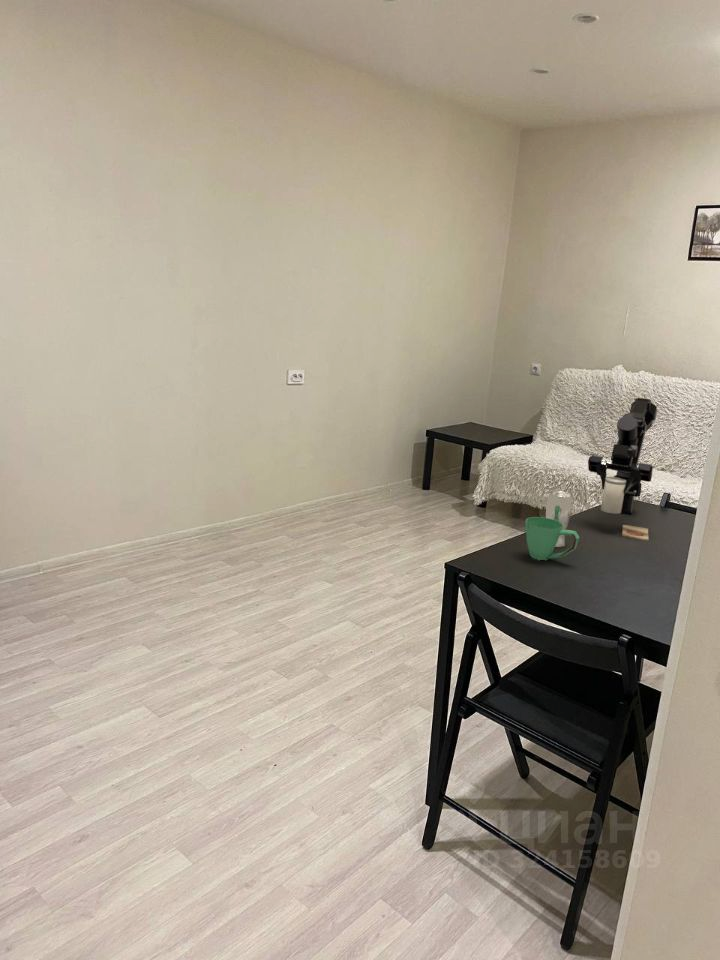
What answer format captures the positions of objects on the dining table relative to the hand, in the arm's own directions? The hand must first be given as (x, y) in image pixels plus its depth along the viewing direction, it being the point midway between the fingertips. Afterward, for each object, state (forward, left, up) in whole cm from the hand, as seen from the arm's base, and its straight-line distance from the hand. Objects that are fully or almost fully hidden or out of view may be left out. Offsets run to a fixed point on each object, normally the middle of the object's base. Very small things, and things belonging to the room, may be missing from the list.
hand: (613, 490), depth 221 cm
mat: (-5, +8, -13) cm, 17 cm away
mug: (+35, -14, -14) cm, 40 cm away
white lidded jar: (-1, 0, -7) cm, 7 cm away
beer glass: (+20, -14, -14) cm, 28 cm away
